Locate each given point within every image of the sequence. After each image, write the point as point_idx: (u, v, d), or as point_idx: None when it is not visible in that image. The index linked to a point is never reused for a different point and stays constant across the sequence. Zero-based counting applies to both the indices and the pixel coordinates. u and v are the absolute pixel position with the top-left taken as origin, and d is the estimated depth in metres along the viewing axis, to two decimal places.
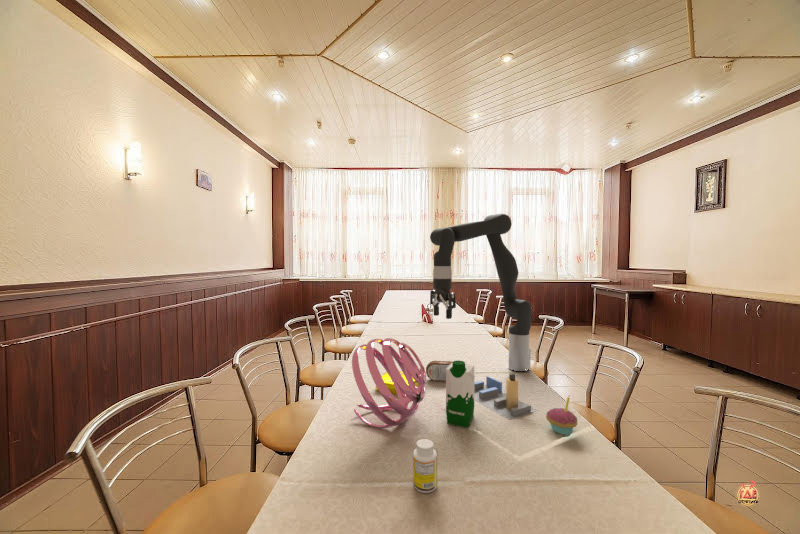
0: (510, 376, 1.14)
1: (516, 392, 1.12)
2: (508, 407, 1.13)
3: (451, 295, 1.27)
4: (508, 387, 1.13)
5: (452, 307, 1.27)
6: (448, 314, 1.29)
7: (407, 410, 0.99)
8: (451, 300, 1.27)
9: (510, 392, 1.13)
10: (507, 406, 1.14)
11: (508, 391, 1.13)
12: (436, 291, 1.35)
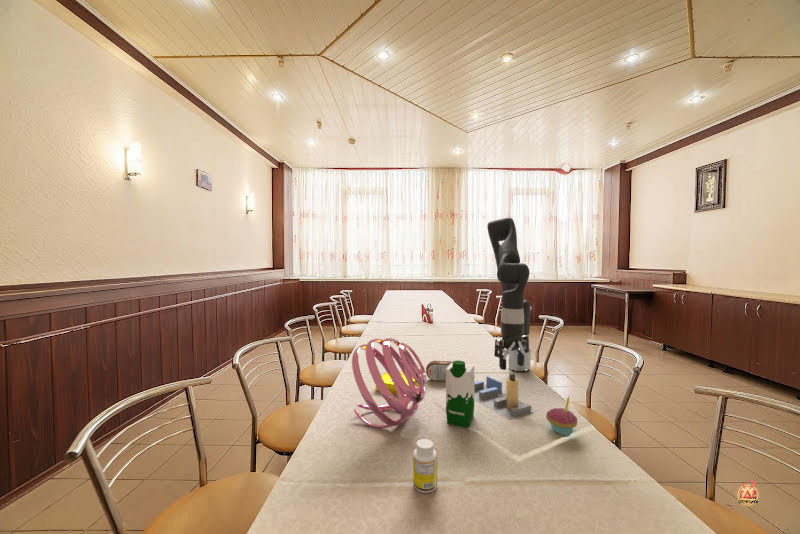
0: (510, 376, 1.14)
1: (516, 392, 1.12)
2: (508, 407, 1.13)
3: None
4: (508, 387, 1.13)
5: None
6: None
7: (407, 410, 0.99)
8: None
9: (510, 392, 1.13)
10: (507, 406, 1.14)
11: (508, 391, 1.13)
12: (509, 339, 1.11)
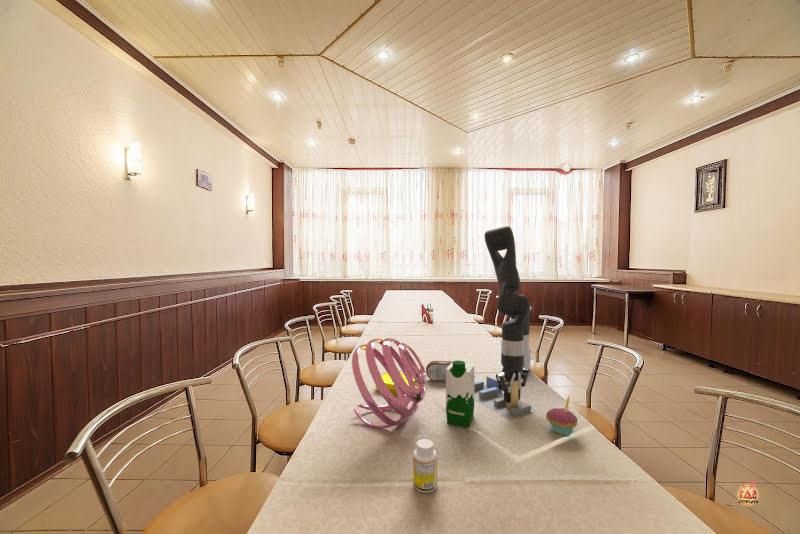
0: None
1: (516, 392, 1.12)
2: (508, 407, 1.13)
3: None
4: None
5: None
6: None
7: (407, 410, 0.99)
8: None
9: None
10: (507, 406, 1.14)
11: None
12: (508, 370, 1.12)
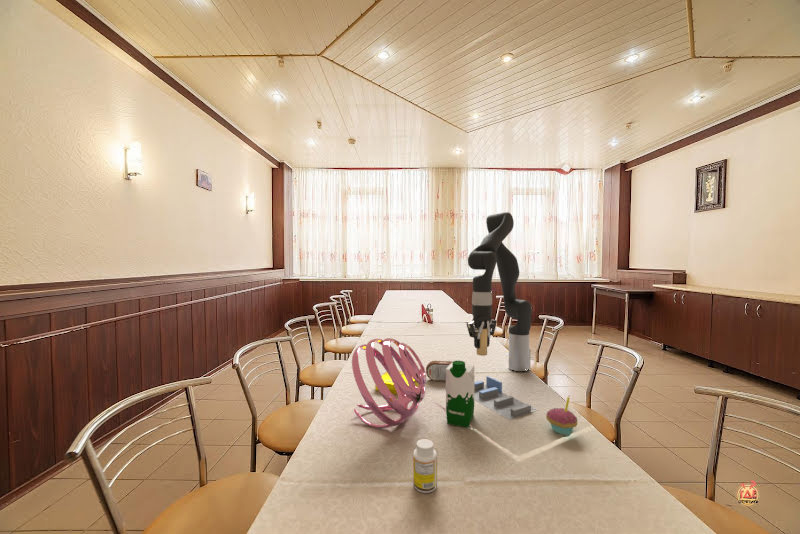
0: None
1: (485, 339, 1.25)
2: (478, 352, 1.26)
3: None
4: None
5: None
6: (488, 342, 1.28)
7: (407, 410, 0.99)
8: None
9: None
10: (477, 352, 1.27)
11: None
12: (478, 319, 1.24)
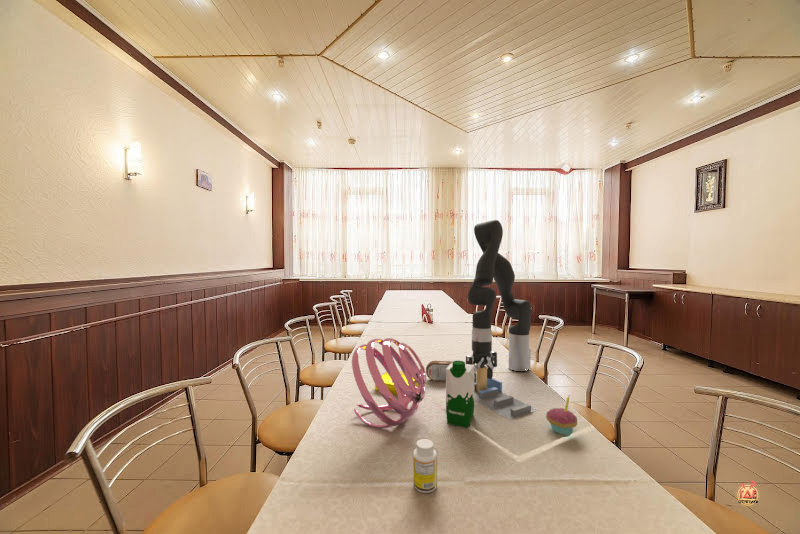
0: None
1: (485, 378, 1.26)
2: (477, 391, 1.27)
3: None
4: (478, 373, 1.26)
5: None
6: (491, 374, 1.29)
7: (407, 410, 0.99)
8: None
9: (479, 378, 1.26)
10: (477, 390, 1.27)
11: (478, 377, 1.26)
12: (478, 355, 1.25)
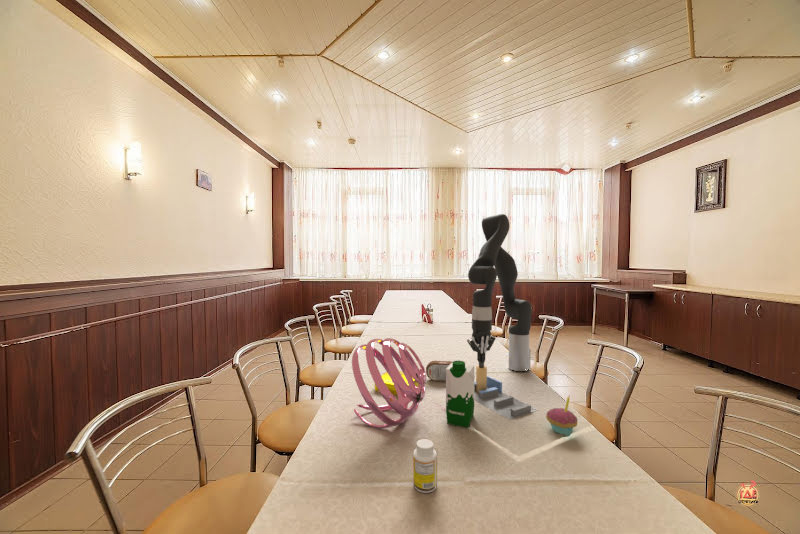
0: (479, 364, 1.27)
1: (484, 378, 1.26)
2: (477, 391, 1.27)
3: None
4: (477, 373, 1.26)
5: None
6: None
7: (407, 410, 0.99)
8: None
9: (479, 378, 1.26)
10: (477, 390, 1.27)
11: (477, 377, 1.26)
12: (477, 334, 1.25)
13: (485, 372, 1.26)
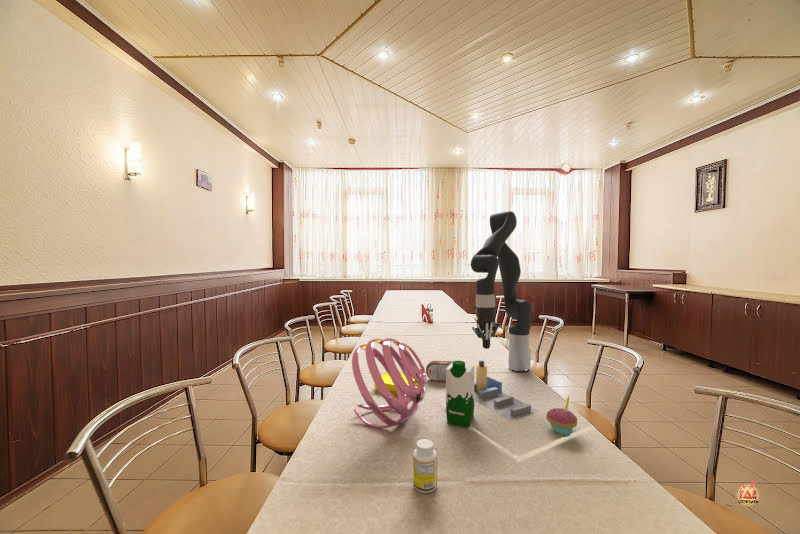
0: (479, 363, 1.27)
1: (484, 377, 1.26)
2: (477, 391, 1.27)
3: None
4: (477, 372, 1.27)
5: None
6: None
7: (407, 410, 0.99)
8: None
9: (479, 377, 1.26)
10: (477, 390, 1.27)
11: (477, 376, 1.27)
12: (482, 321, 1.28)
13: (485, 371, 1.26)
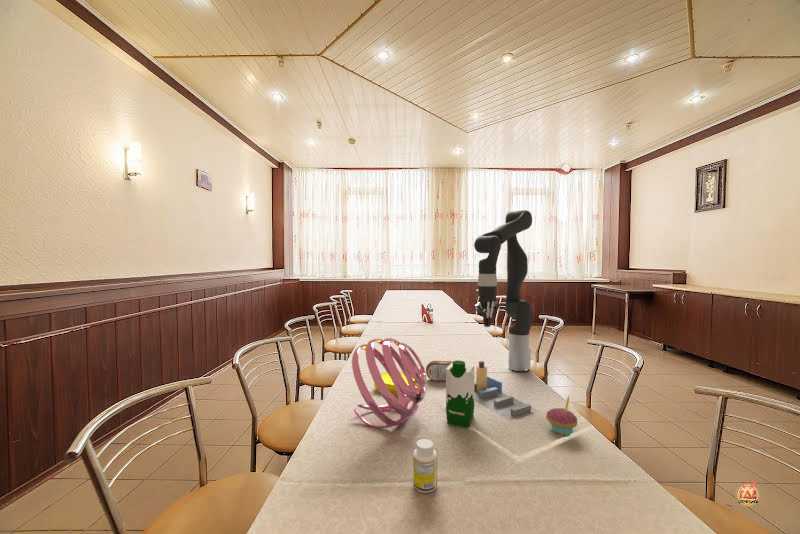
0: (479, 363, 1.27)
1: (484, 378, 1.26)
2: (477, 391, 1.27)
3: None
4: (477, 373, 1.26)
5: None
6: (490, 322, 1.35)
7: (407, 410, 0.99)
8: None
9: (479, 378, 1.26)
10: (477, 390, 1.27)
11: (477, 377, 1.26)
12: (483, 299, 1.33)
13: (485, 372, 1.26)
